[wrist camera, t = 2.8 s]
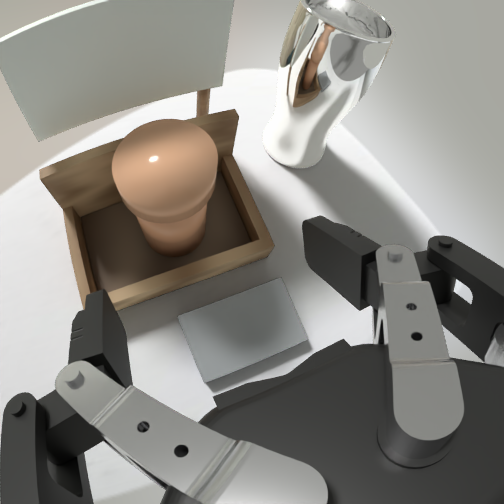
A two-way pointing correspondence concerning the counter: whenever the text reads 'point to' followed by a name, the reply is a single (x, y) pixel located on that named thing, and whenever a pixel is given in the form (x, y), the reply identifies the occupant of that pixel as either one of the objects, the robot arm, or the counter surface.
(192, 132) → the peach mushroom shaped stopper
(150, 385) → the counter surface
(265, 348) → the tile
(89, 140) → the counter surface
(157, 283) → the open wooden box
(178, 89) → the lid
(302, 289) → the counter surface
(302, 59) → the beer glass
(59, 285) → the counter surface
